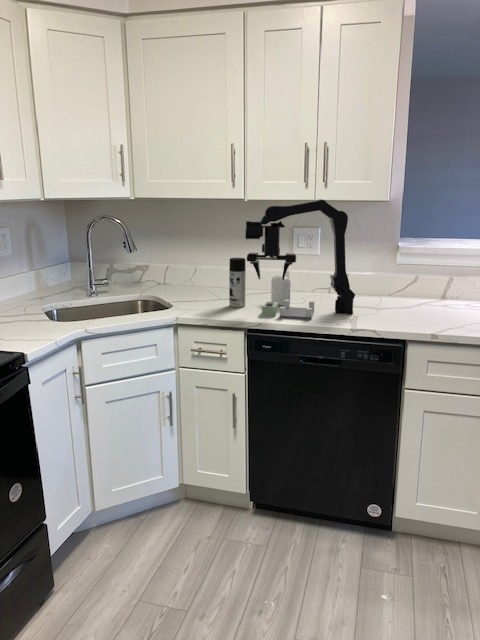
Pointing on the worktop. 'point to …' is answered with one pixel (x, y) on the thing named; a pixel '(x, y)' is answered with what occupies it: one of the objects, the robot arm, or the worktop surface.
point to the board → (270, 309)
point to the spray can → (237, 282)
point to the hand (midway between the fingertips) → (271, 279)
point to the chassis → (296, 311)
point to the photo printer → (280, 289)
